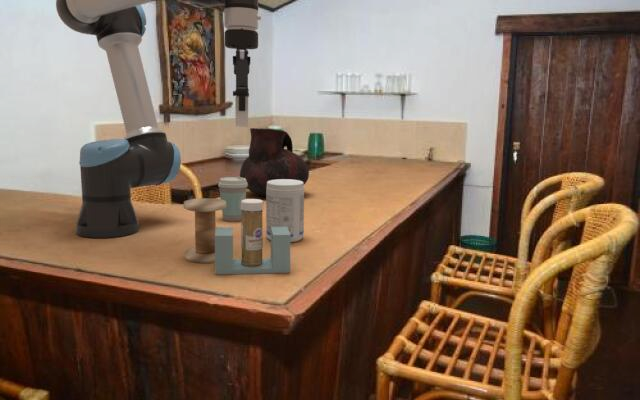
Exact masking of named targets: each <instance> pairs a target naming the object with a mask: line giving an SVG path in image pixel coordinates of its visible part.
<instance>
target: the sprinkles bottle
mask: <svg viewBox="0 0 640 400" xmlns="http://www.w3.org/2000/svg"><path fill="white" fill-rule="evenodd" d="M263 210H264V200H262V199H259V198H246V199H244V200H242V201H241V212H242V220H241V225H240V226H241V227H240V229H241V230H240V231H241V232H240V233H241V235H240V237H241V238H240V239H241V240H240V243H241V244H240V247H241V259H242V260H241V263H242V264H243V265H246V266H257V265H260V264H262V262H263V260H262V259H263V245H264V244H263V242H264V240H263V239H264V237H263V236H264V235H263V212H264V211H263Z"/></svg>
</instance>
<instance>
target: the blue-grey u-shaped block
mask: <svg viewBox="0 0 640 400" xmlns="http://www.w3.org/2000/svg"><path fill="white" fill-rule="evenodd" d="M290 241H291V235H290V232H289V230H288V227H271V240H270V257H269V258H262V260H263V262H262V264H260V265H257V266H246V265H243V264H242V263H241V260H242V258H234V227H233V226H231V227H230V226H227V227H226V226H223V227H218V226H217V227H216V232H215V262H214V263H215V265H214V270H215V271H214V274H215V275H248V274H249V275H250V274H251V275H252V274H256V275H257V274H286V273H287V274H289V273H291V242H290Z"/></svg>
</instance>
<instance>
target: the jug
mask: <svg viewBox="0 0 640 400" xmlns="http://www.w3.org/2000/svg"><path fill="white" fill-rule="evenodd" d="M249 132H250V142H249V144H250V145H249V148H248V157H246V158H245V160H244V161H243V163H242V165H241V167H240V171H239V177H241V178H245V179H246V181H247V183H248V186H247V190H248V191H250V192H251V193H253V194H255V195H257V196H259V197H264V198H266V189H267V188H266V187H267V182H268V181H270V180H277V179H292V180H299V181H302V182H303V183H304V185H306V184H307V182H308V180H309V176H310V171H309V167H308V164H307V163H306V161H305V160H304V159H303V158H302V157H301V156H300V155H298V154H296V152H293V150H294V149H293V147H294V146H293V140H292V137H290V135H289V133H288V132H287V131H285V130H281V129H275V128H261V127H259V128H255V127H254V128H253V127H251V128H250V130H249ZM285 148H286V149H285Z"/></svg>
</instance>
